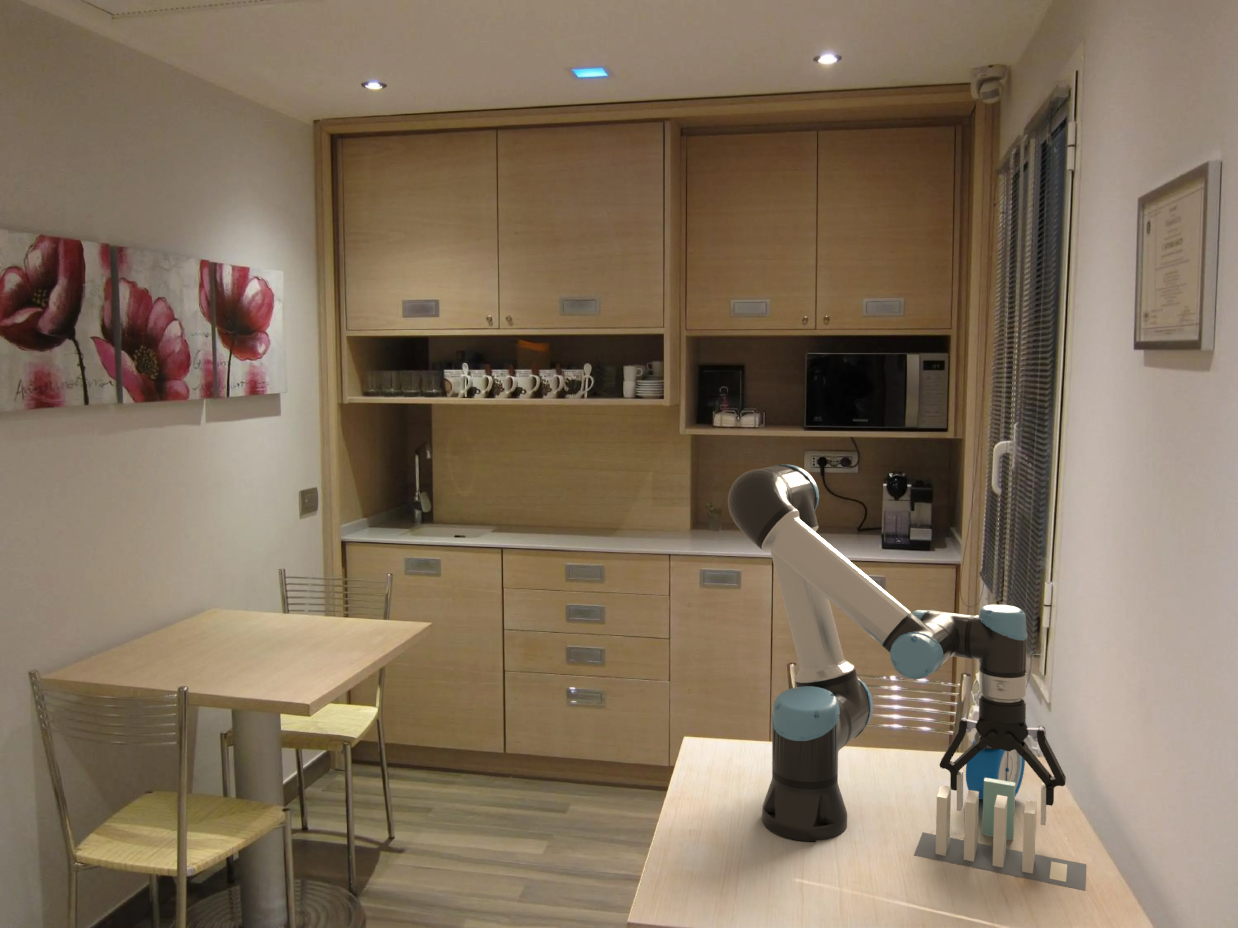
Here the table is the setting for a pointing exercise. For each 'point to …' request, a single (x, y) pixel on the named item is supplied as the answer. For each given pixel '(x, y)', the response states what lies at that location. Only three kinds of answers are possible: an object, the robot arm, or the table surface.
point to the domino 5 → (1029, 836)
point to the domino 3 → (989, 798)
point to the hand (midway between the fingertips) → (1000, 814)
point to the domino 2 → (971, 825)
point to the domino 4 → (999, 831)
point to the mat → (1008, 862)
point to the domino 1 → (943, 820)
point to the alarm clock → (994, 767)
